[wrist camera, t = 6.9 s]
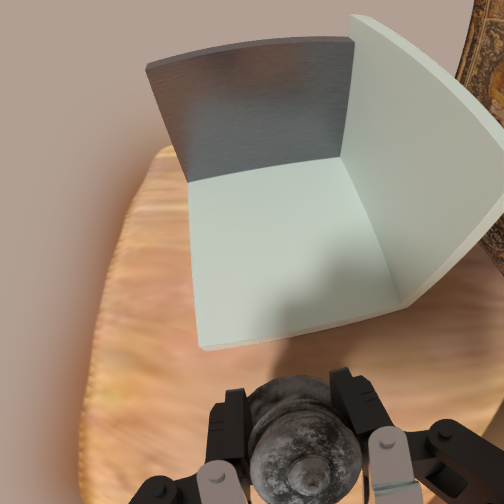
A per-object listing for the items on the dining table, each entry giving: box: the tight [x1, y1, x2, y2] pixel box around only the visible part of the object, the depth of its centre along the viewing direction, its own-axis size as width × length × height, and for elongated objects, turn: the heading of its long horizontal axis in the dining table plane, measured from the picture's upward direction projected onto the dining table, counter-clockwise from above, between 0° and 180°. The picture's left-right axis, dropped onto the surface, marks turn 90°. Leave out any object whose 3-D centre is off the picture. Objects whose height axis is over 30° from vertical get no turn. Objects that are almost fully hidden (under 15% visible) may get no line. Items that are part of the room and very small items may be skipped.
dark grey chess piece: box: [247, 375, 362, 504], centre depth 9 cm, size 6×6×12 cm
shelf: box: [145, 14, 504, 351], centre depth 17 cm, size 16×16×16 cm
